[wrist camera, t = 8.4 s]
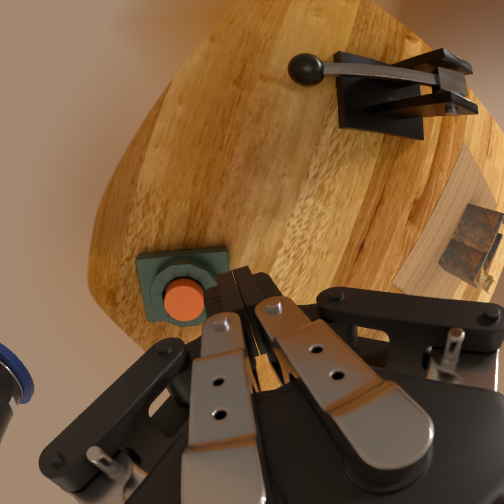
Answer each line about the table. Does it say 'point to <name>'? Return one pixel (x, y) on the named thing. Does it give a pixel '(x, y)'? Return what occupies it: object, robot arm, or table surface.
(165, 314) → the button box
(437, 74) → the lever
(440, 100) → the bracket
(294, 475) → the robot arm
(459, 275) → the architectural model on board
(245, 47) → the table surface
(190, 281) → the button
